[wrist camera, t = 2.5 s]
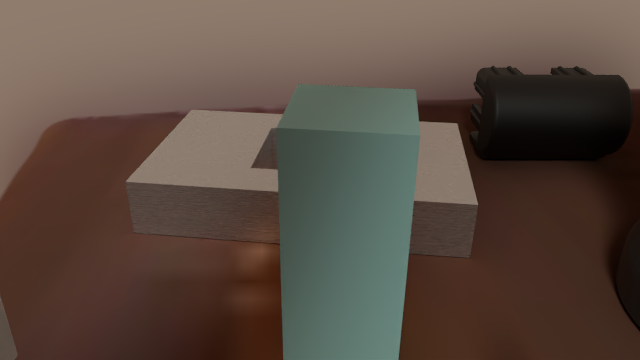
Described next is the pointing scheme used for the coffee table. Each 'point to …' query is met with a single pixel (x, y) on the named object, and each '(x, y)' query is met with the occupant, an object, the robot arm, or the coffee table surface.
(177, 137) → the grey rectangular frame
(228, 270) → the coffee table surface
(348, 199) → the teal post
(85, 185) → the coffee table surface
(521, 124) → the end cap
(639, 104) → the coffee table surface
